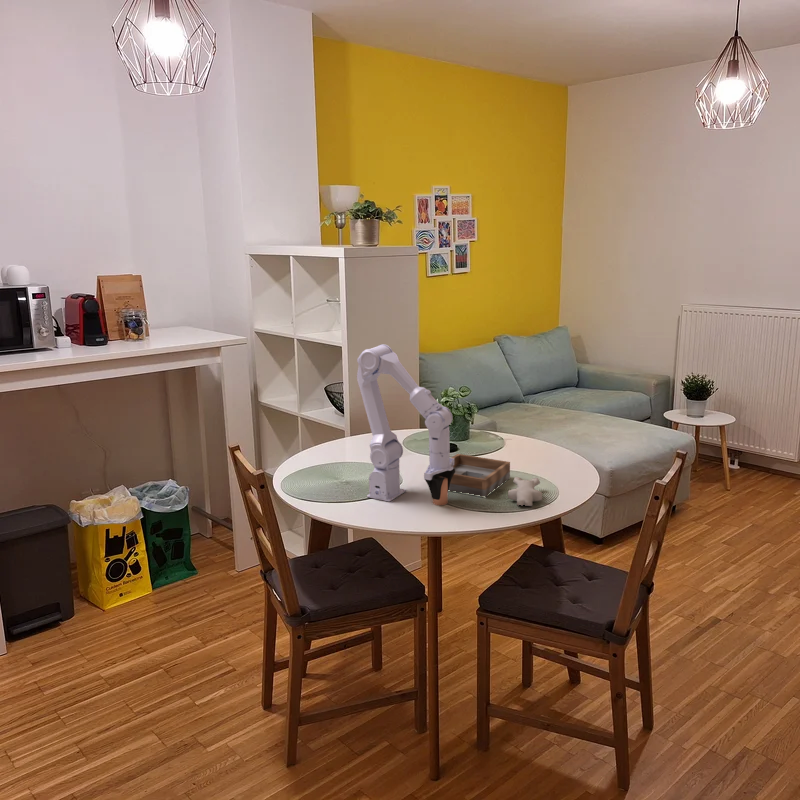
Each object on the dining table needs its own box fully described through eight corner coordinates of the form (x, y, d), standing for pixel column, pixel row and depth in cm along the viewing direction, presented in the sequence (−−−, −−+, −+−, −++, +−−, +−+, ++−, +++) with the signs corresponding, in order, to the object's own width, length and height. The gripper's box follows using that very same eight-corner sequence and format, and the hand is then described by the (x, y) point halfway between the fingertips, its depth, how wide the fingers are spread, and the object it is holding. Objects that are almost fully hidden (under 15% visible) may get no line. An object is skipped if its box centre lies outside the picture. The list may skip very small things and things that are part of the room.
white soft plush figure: (507, 494, 203) (510, 470, 217) (507, 511, 205) (510, 486, 218) (541, 496, 201) (543, 472, 215) (541, 512, 203) (542, 487, 216)
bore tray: (485, 498, 211) (485, 480, 210) (430, 487, 220) (430, 470, 219) (509, 478, 226) (510, 461, 225) (457, 470, 235) (457, 453, 234)
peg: (443, 506, 206) (443, 483, 204) (429, 503, 208) (429, 480, 206) (450, 501, 210) (450, 478, 208) (437, 498, 212) (436, 475, 210)
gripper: (439, 460, 197) (440, 507, 200) (463, 445, 209) (463, 490, 212) (417, 456, 201) (418, 502, 204) (441, 442, 213) (442, 486, 216)
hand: (440, 496), depth 208 cm, fingers closed on peg, 4 cm apart
